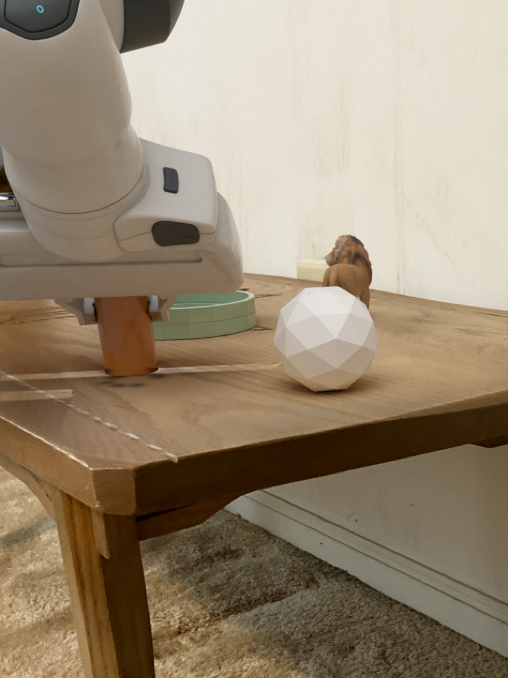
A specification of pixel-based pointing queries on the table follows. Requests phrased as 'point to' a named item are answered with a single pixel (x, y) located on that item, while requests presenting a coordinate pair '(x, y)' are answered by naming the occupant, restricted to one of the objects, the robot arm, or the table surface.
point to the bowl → (208, 316)
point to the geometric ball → (325, 338)
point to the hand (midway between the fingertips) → (126, 317)
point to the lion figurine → (349, 268)
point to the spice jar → (126, 335)
